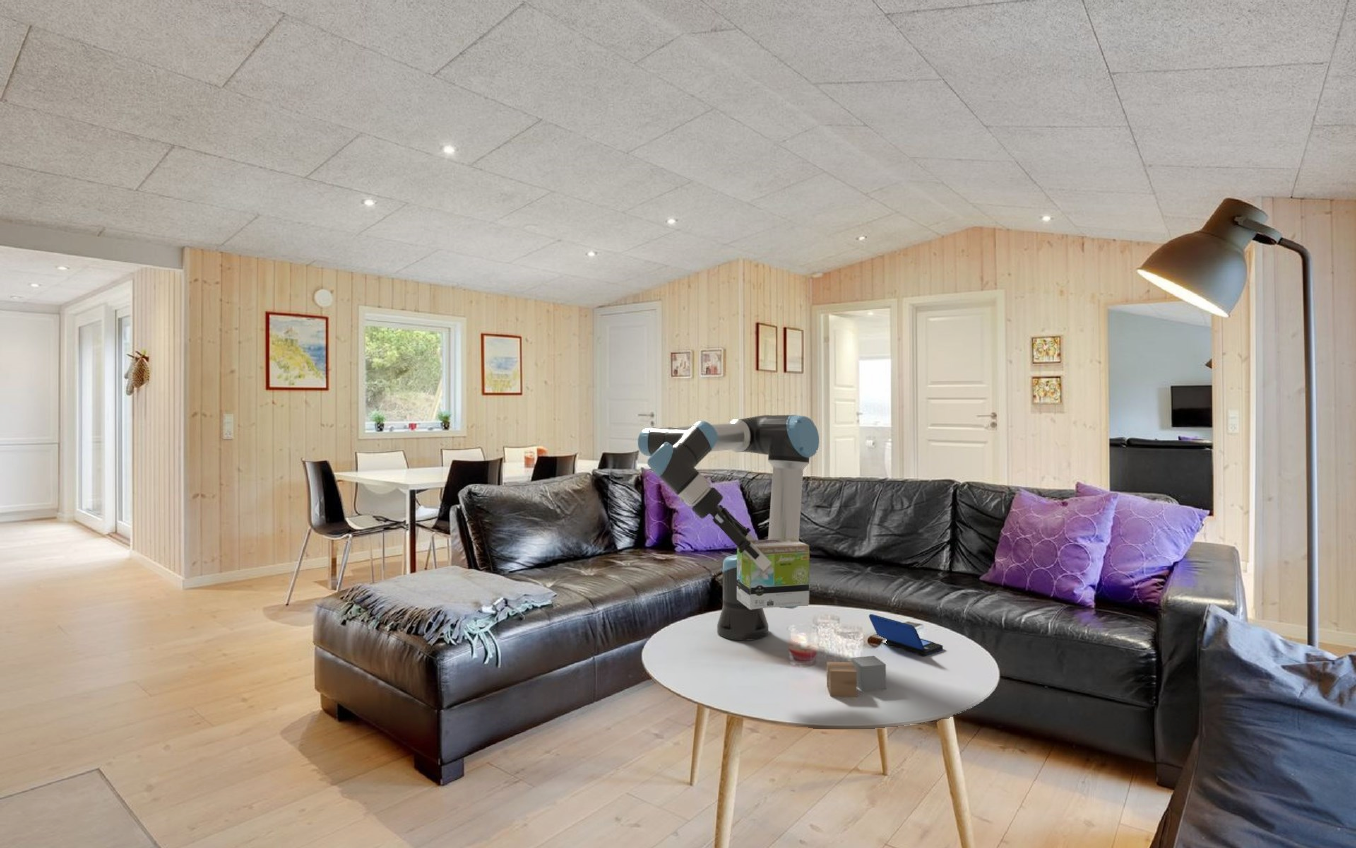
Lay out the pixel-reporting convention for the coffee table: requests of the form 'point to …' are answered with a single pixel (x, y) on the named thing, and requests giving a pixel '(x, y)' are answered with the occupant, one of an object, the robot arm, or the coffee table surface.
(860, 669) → the slate grey block
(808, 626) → the coffee table surface
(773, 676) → the coffee table surface
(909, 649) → the handheld game console
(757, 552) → the robot arm
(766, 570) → the tea box
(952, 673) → the coffee table surface
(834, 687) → the walnut block
